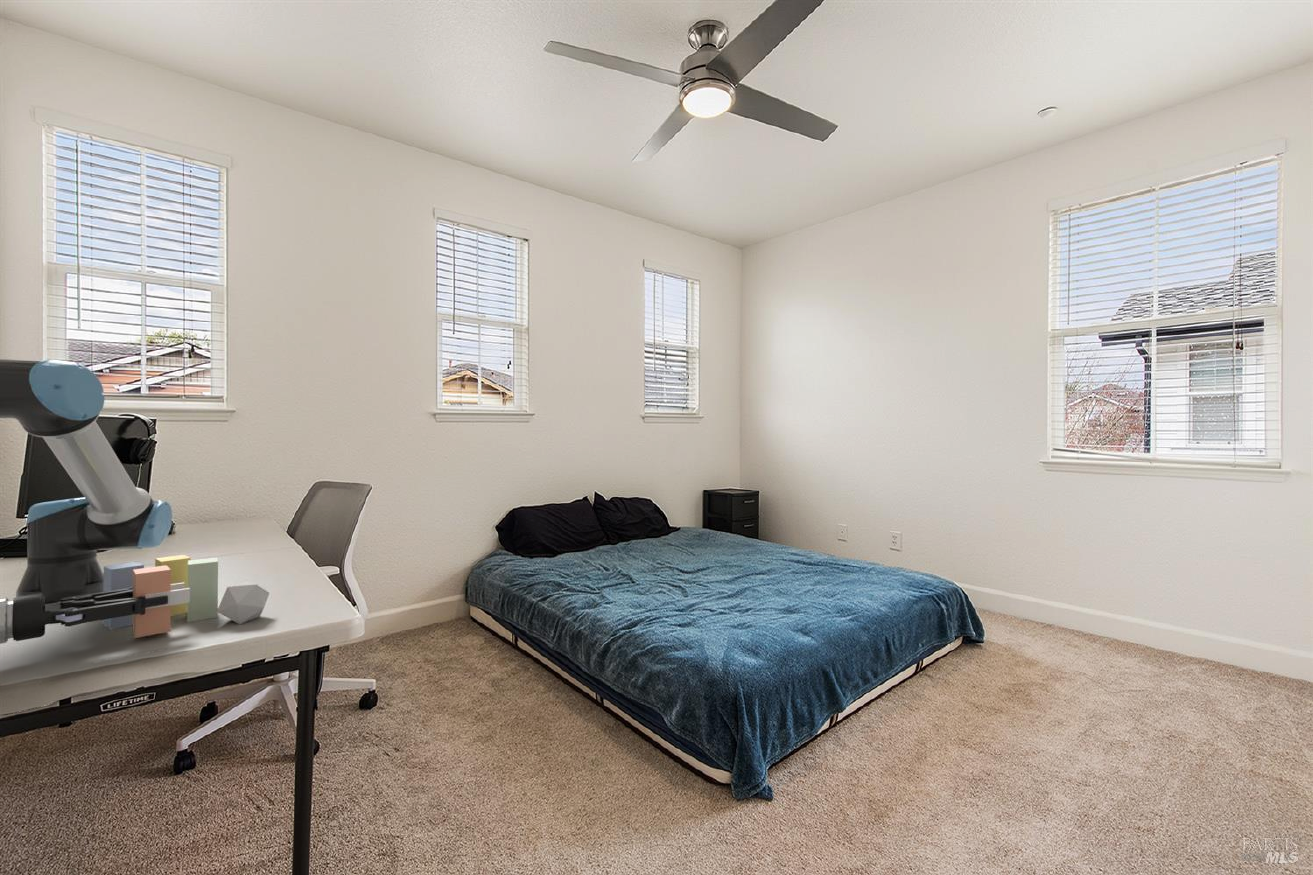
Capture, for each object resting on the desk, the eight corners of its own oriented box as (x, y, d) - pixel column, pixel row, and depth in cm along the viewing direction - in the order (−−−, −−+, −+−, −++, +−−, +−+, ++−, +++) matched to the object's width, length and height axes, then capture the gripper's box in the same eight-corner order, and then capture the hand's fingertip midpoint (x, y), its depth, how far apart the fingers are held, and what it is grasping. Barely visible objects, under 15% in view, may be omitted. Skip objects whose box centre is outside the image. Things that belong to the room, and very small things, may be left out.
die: (274, 622, 120) (280, 580, 126) (238, 613, 113) (246, 568, 119) (241, 634, 121) (249, 591, 127) (203, 625, 114) (213, 581, 120)
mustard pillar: (154, 613, 124) (155, 558, 124) (183, 607, 128) (184, 554, 128) (160, 617, 121) (161, 561, 121) (190, 612, 125) (190, 557, 125)
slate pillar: (103, 624, 116) (103, 566, 116) (135, 617, 121) (135, 561, 121) (111, 629, 114) (111, 569, 114) (143, 622, 118) (143, 564, 118)
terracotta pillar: (132, 631, 110) (132, 569, 110) (166, 624, 113) (166, 565, 113) (135, 637, 106) (135, 574, 106) (170, 631, 110) (170, 569, 110)
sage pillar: (187, 615, 122) (187, 560, 122) (216, 611, 125) (217, 557, 125) (187, 621, 118) (187, 564, 118) (217, 617, 122) (218, 561, 121)
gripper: (13, 628, 103) (179, 601, 120) (9, 656, 90) (195, 621, 108) (13, 587, 103) (179, 565, 120) (9, 609, 90) (195, 581, 107)
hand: (186, 592), depth 114 cm, fingers closed on terracotta pillar, 5 cm apart
